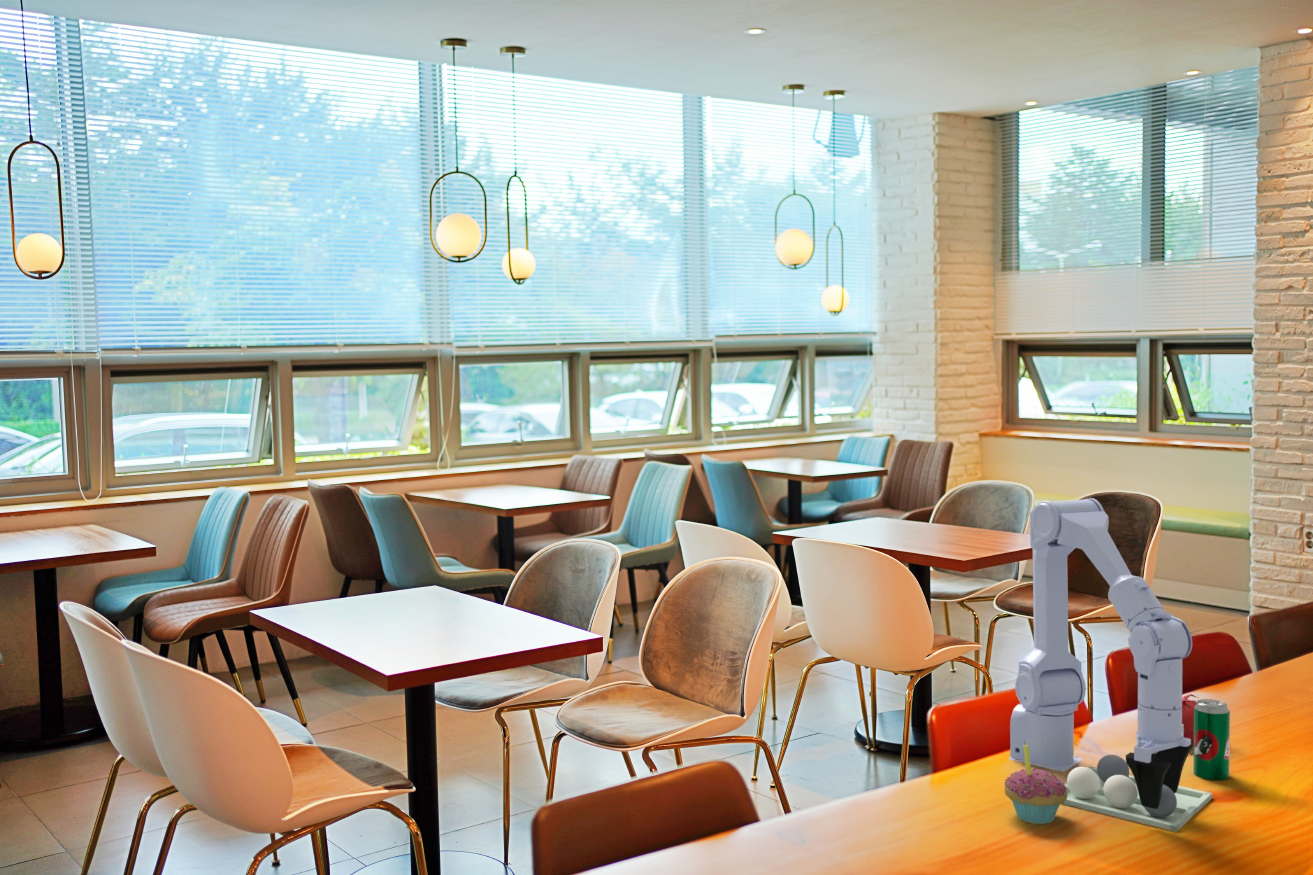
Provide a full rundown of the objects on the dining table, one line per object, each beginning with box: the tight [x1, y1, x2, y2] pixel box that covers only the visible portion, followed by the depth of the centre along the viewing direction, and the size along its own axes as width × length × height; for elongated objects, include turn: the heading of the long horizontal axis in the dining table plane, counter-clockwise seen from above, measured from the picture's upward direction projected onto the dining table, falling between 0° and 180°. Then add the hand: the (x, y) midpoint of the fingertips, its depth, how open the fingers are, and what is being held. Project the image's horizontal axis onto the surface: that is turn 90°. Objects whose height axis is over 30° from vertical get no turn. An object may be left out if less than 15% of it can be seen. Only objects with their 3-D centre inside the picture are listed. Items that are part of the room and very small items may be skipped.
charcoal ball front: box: [1144, 785, 1177, 817], centre depth 160 cm, size 5×5×5 cm
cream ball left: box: [1066, 766, 1100, 799], centre depth 167 cm, size 5×5×5 cm
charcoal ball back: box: [1096, 754, 1130, 783], centre depth 172 cm, size 5×5×5 cm
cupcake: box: [1004, 740, 1067, 825], centre depth 161 cm, size 9×8×12 cm
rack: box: [1061, 766, 1213, 833], centre depth 167 cm, size 18×16×1 cm
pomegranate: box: [1182, 693, 1200, 746], centre depth 194 cm, size 10×10×9 cm
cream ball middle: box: [1103, 775, 1138, 808], centre depth 164 cm, size 5×5×5 cm
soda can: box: [1192, 698, 1231, 782], centre depth 176 cm, size 5×5×12 cm
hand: (1159, 798), depth 160 cm, fingers open, 7 cm apart
